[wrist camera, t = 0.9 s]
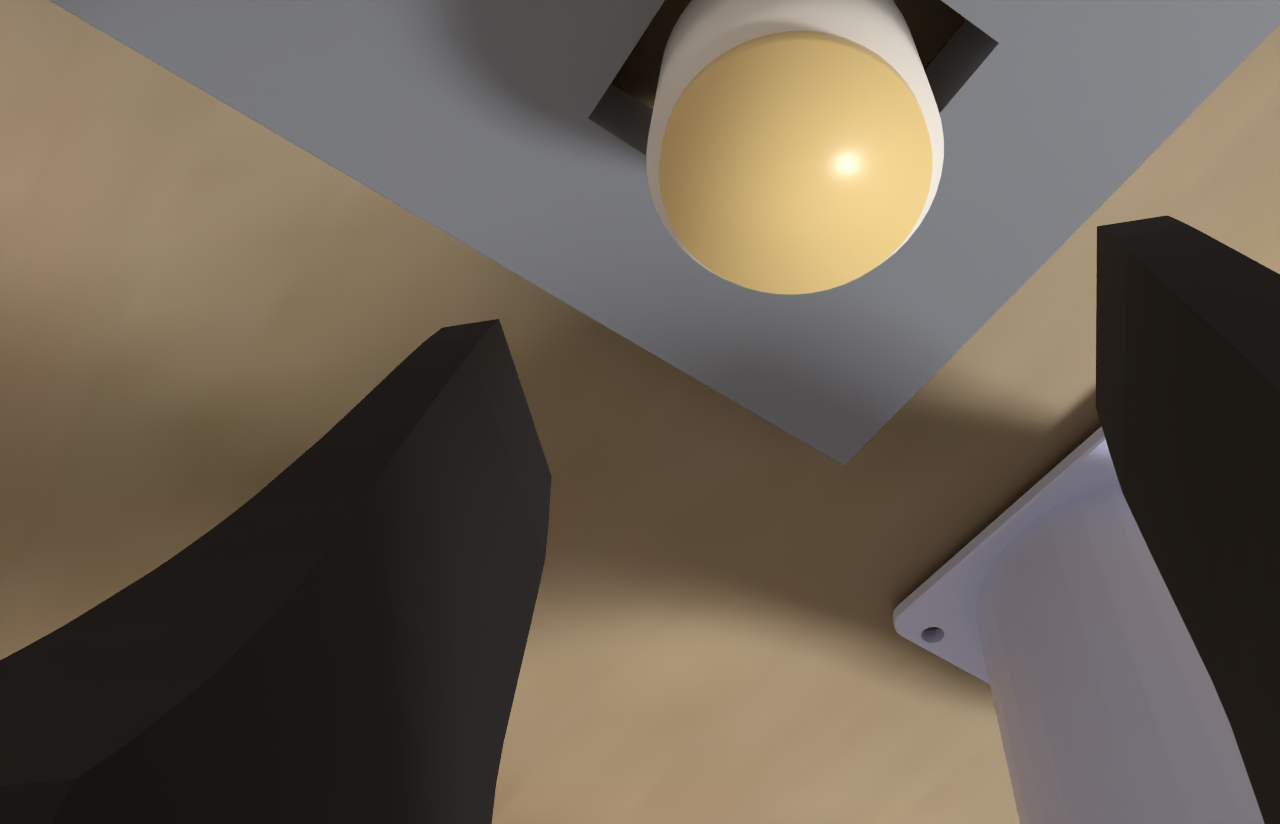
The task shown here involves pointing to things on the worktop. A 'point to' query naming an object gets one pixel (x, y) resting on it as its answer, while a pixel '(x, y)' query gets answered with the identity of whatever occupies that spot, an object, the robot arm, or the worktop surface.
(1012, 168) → the button board
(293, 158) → the worktop surface
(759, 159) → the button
